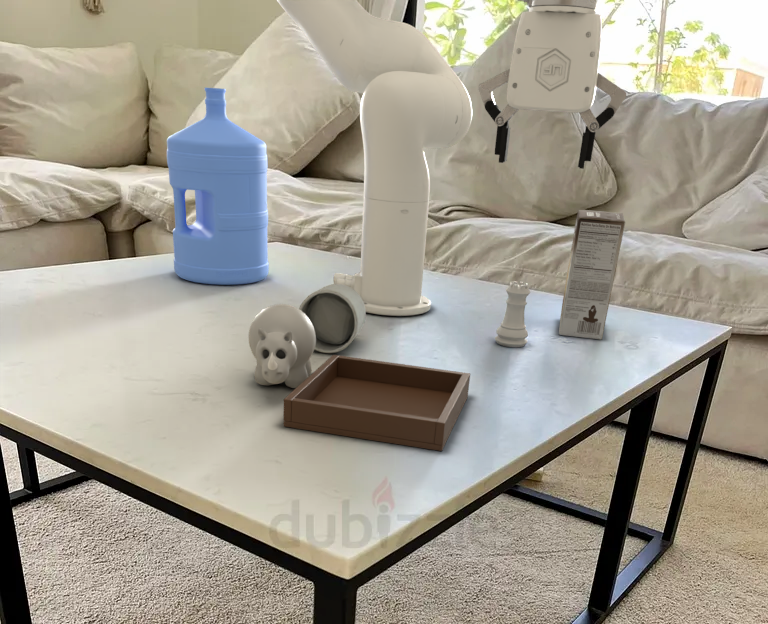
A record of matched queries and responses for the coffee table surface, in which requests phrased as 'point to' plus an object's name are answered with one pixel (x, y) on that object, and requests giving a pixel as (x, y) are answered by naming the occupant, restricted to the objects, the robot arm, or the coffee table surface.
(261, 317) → the round bodied animal figurine
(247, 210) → the water jug
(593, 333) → the coffee box
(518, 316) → the rook chess piece
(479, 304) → the coffee table surface
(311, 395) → the tray
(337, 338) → the ceramic mug
